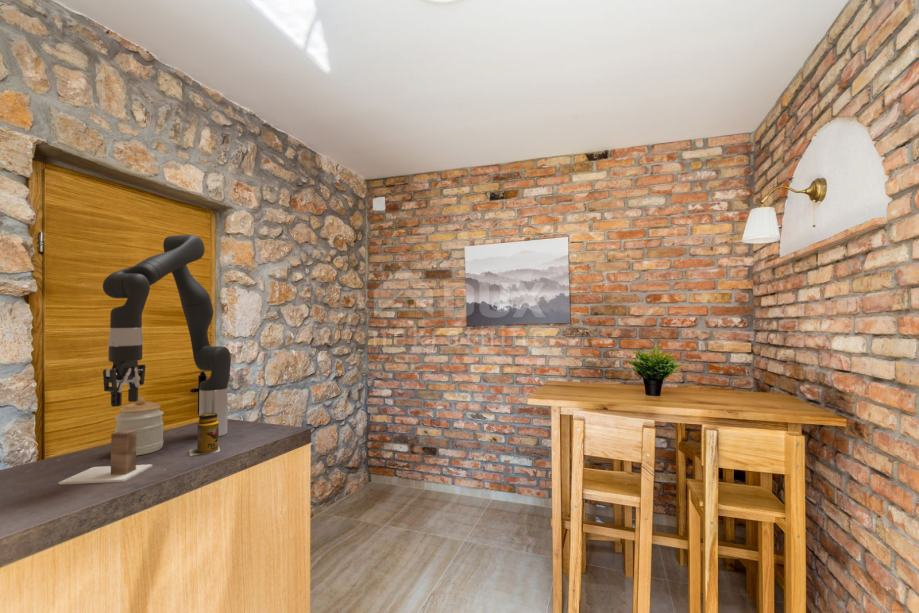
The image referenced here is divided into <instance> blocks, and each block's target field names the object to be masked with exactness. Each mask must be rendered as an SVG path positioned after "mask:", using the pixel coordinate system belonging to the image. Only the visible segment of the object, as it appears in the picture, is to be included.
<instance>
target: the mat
mask: <svg viewBox="0 0 919 613" xmlns="http://www.w3.org/2000/svg"><path fill="white" fill-rule="evenodd" d="M150 468H153V464H136V470H134V471H132V472H130V473H128V474H124V475H111V465H108V466H92V467H91V468H87V469H85V470H83V471H81V472H78V473H77V474H74V475H72V476H70V477H67V478H65V479H62V480H60V481H58V485H79V484H80V485H81V484H102V483H103V484H104V483H123V482H126V481H128V480H130V479H132V478H133V477H135V476H137V475H140V474H141V473H143V472H145V471H147V470H149V469H150Z"/></svg>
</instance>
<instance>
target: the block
mask: <svg viewBox="0 0 919 613" xmlns="http://www.w3.org/2000/svg"><path fill="white" fill-rule="evenodd" d="M110 435H111V437H110V439H111V440H110V466H111V475H124V474H128V473H130V472H132V471H134V470H136V465H137V455H136V441H137V430H130V431H120V432H117V433H115V432H114V433H112V434H110Z"/></svg>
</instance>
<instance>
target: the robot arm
mask: <svg viewBox="0 0 919 613" xmlns="http://www.w3.org/2000/svg"><path fill="white" fill-rule="evenodd" d="M162 246H163V252H161V253H158V254H155V255H152V256H150V257H147V258H145V259H143V260H142V261H140V262H138V263H137V264H136V265H133V266H130V267H126V268H124V269H120V270H118V271H115V272H112V273H110V274H109V275H108V276H107V277H106V278H105V279H104V280H103V284H102V289H103V292H104V294H105V295H106V296H107V297H110V298H113V299H126V300H125V303H124V304H123V305H121V306H117V307H114V308H112V309H111V310H110V315H109V316H110V320H109V321H110V322H109V328H110V329H109V333H108V356H107V357H108V359H107V360H108V362H110V363H112V366H111V368H105V369H103V370H102V375H103V376H102V377H103V379H102V380H103V390H104V391H103V392H109V393H110V406H111V407H120V406H122V402H123V401H122V400H123V398H122V397H123V392H122V390H123V388H124V385H126V384H127V387H128V390H127V391H128V392H127V393H128V396H127V398H128V399H127V400H128V402H129V403H131V402H132V403H135V402H136V401H138V398H139V389H140V387H141V386H144V384H145V379H146V378H145V375H146V364H139V363H138V361H139V362H140V361H142V359H143V343H144V340H143V328H142V327H143V326H142V325H143V323H142V322H143V312H144V309H145V306H146V302H147V300H148V297H149V295H150V290H151V286H153V285H154V284H156V283H158V282H159V281H160V280H162V279H163V278H164V277H166V276H168V275H169V274H172V277H173V279H174V282H175V285H176V289H177V293H178V295H179V300H180V304H181V307H182V310H183V315H184V317H185V320H186V325H187V328H188V333H189V337H190V342H191V350H192V356H193V357H192V358H193V361H194V364H195V366H196V368H197V369H198V370H200V371H205V372H207V371H208V372H209V371H210V372H211V373H210V376H209V378H207V379H206V380H201V382H199V393H198V394H199V395H198V396H199V401H198V402H199V406H198V407H199V410H198V413H199V414H198V417H199V416H200V415H201V414H205V413H217V415H218V416H217V418H218V419H217V421H218V422H219V437H222V436H225V435H226V434H228V403H229V402H228V397H229V396H228V391H229V388H228V387H229V386H228V385H229V381H230V378H231V376H230V375H231V363H232V362H231V361H232V360H231V358H232V355H231V352H230V350H229V348H227V347H226V346H222V345H221V346H220V345H219V346H217V345H215V346H214V345H213V346H211V344H210V341H209V340H210V339H209V335H208V333H209V332H208V331H209V328H210V325H211V322H212V320H213V317H214V307H213V303H212V299H211V296H210V294H209V292H208V290H206V289H205V288H204V286H203V285H202V284H201V283H200V282H199V281H198V280H196V278H194V276H193V275H192V274H191V271H190V270H189V268H188V264H191V263H193V262H196V261H199V260H201V259H202V258H203V257H204V255H205V250H206V249H205V244H204V241H203V239H202V238H201V237H199V236H197V235H194V234H177V235H168V236H166V237H165V238H164V239H163V245H162Z"/></svg>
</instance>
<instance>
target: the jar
mask: <svg viewBox="0 0 919 613" xmlns="http://www.w3.org/2000/svg"><path fill="white" fill-rule="evenodd" d="M161 406H162V405H161V404H159V403H156V402H154V401H146V399H145V398H144V397H141V396H140V397H139V396H138V401H136V402H132V403H130V404H129V403H128V404H126V405H123V406H122V407H121V408H118V410H117V411H118V415H116V416H115V417H114V420H115V421H116V426H115V427H114V433H117V432H120V431H130V430H137V441H136V456H141V455H147V454H148V455H149V454H150V453H154V452H157V451H159V450H161V449H162V448H163V445H164V438H163V437H164V436H163V435H164V434H163V433H164V421H163V415H164V414H165V413H164V412H165V411H162V410H160V408H161Z"/></svg>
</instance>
